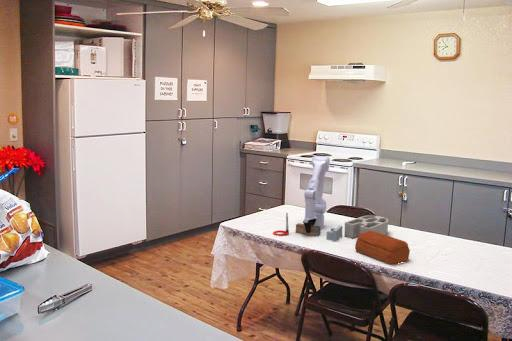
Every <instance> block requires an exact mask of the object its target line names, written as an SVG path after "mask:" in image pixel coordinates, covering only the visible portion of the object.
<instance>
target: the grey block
mask: <svg viewBox="0 0 512 341" xmlns="http://www.w3.org/2000/svg"><path fill="white" fill-rule="evenodd" d="M342 236H343V225H338V226H337V227H331V228H330V230H327V231H326V240H329V241H332V242H337V241H338V240H340V238H341V237H342Z"/></svg>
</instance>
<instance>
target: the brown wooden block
mask: <svg viewBox="0 0 512 341" xmlns="http://www.w3.org/2000/svg"><path fill="white" fill-rule="evenodd" d="M321 230H322V229H321V226H314V225H312V226H311V230H310V233H306V229H305V225H304V223H301V222H300V223H296V224H295V234H301V235H307V236H311V237H312V236H313V237H319V236H321Z"/></svg>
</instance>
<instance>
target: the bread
mask: <svg viewBox="0 0 512 341" xmlns="http://www.w3.org/2000/svg"><path fill="white" fill-rule="evenodd" d="M354 246H355V247H354V248H355V251H356V252H358V253H360V254H363V255H364V254H365V256H367V255H368V256H367V257H370V256H371V257H370V258H373V259H375V258H376V259H375V260H378V259H379V260H378V261H380V260H381V262H383V261H384V262H383V263H385V262H387V263H386V264H388V263H390V264H389V265H391V264H398V263H401V262H405V263H407V262H406V261H409V258H410V251H411V250H410V248H409V243H408V242H407V241H405V240H402V239H398V238H395V237H393V236H391V235H388V234H387V235H383V234H381V233H378V232H375V231H368V232H364V233H361V234H360V235H359V236H357V239H356V242H355V245H354ZM401 264H402V263H401ZM398 265H399V264H398Z"/></svg>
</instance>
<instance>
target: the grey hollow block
mask: <svg viewBox="0 0 512 341" xmlns="http://www.w3.org/2000/svg"><path fill="white" fill-rule="evenodd" d="M343 225H344V237H346V238H348V239H355V238H358V236H359V235H360V234H361V233H364V232H368V231H375V232H378V233H381V234H383V235H388V228H389V219H388V218H387V217H384V216H379V215H363V216H360V217H359V216H358V217H357V218H354V219H351V220H348V221H345V222H344V224H343Z"/></svg>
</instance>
